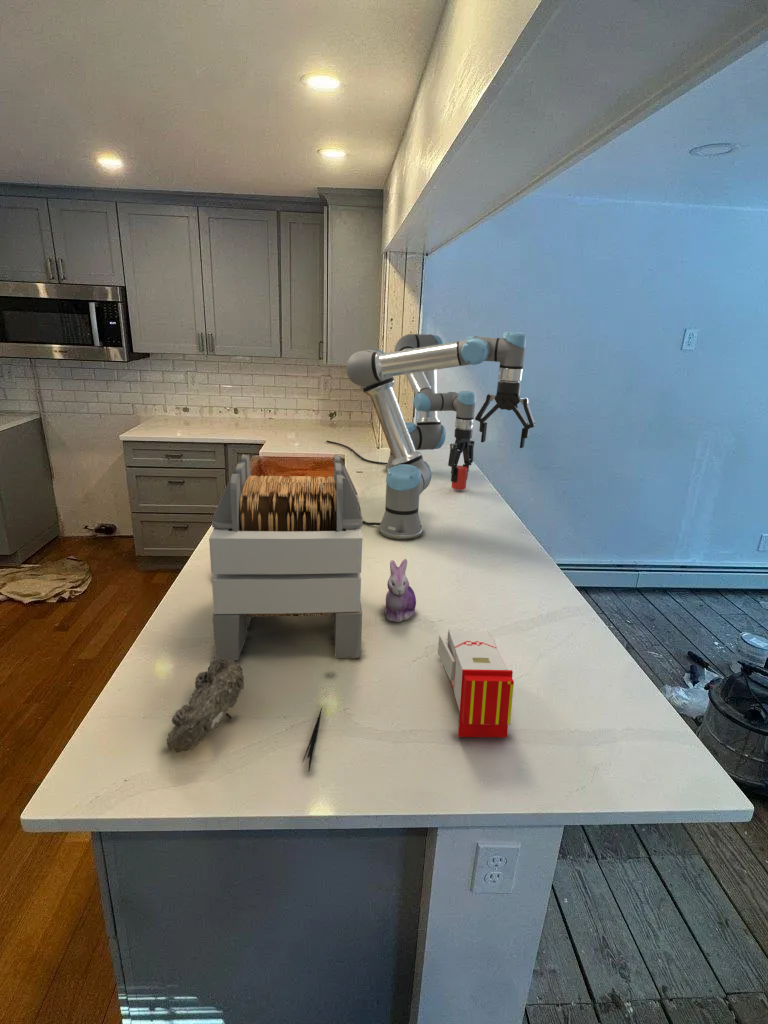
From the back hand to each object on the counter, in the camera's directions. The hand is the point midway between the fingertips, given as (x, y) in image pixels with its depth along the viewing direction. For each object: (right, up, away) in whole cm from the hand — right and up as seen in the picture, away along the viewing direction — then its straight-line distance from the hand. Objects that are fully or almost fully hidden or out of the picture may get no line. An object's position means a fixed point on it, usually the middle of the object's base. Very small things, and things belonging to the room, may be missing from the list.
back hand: (459, 480), depth 249 cm
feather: (-45, -54, -141) cm, 157 cm away
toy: (-15, -52, -131) cm, 141 cm away
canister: (0, -3, +1) cm, 3 cm away
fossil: (-66, -53, -141) cm, 165 cm away
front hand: (+7, +9, -55) cm, 57 cm away
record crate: (-56, -41, -108) cm, 128 cm away
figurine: (-29, -41, -102) cm, 114 cm away
